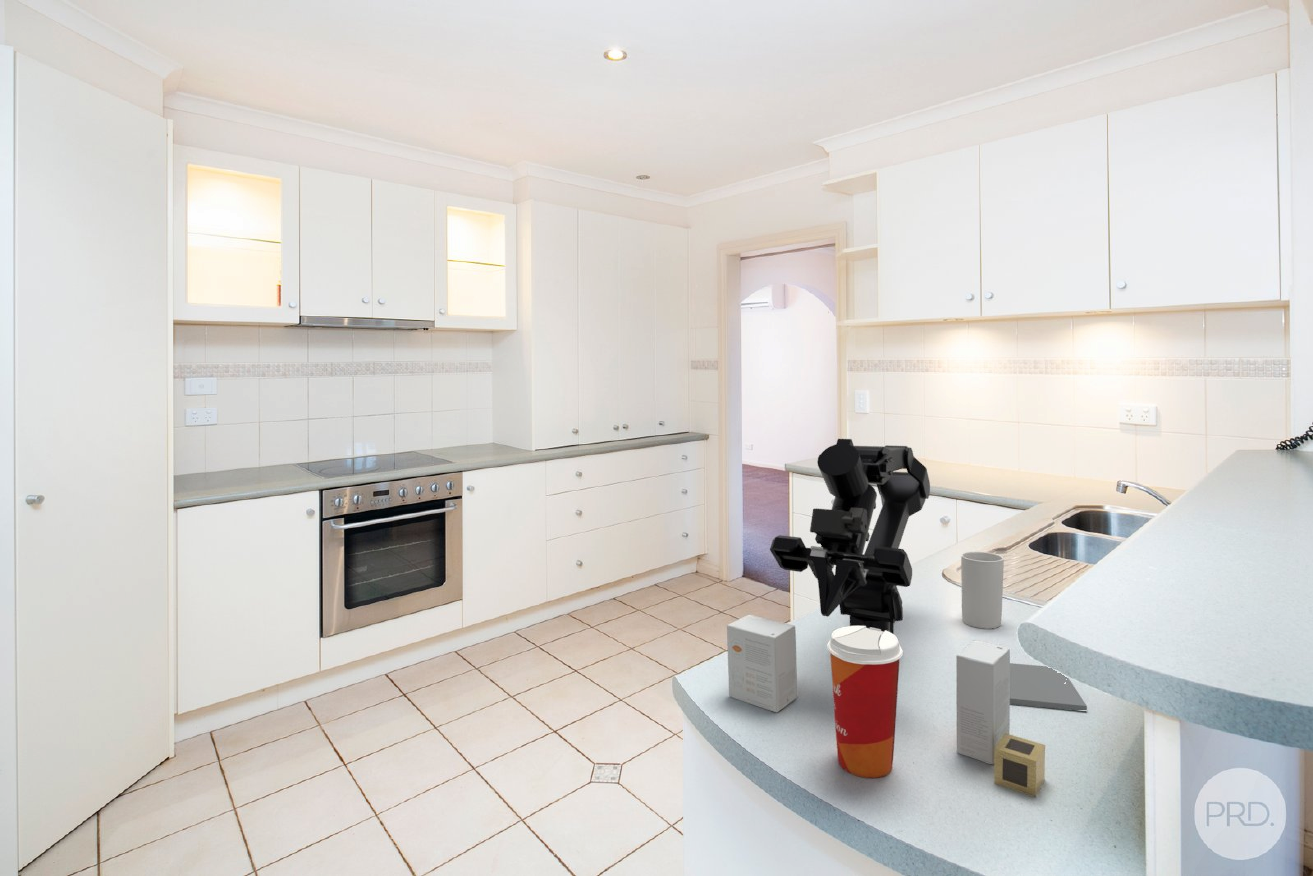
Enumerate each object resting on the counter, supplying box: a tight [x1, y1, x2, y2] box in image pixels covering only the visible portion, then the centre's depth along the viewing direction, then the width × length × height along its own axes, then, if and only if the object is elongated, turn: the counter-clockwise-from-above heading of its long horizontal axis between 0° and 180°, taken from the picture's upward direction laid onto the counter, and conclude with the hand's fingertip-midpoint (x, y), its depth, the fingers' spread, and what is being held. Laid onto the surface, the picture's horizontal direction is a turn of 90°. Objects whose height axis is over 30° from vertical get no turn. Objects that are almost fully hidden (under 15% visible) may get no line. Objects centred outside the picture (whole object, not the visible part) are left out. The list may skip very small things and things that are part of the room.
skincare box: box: [955, 639, 1011, 765], centre depth 79 cm, size 6×4×12 cm
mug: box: [960, 551, 1005, 630], centre depth 120 cm, size 10×7×12 cm, turn 162°
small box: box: [726, 614, 798, 713], centre depth 94 cm, size 8×6×10 cm
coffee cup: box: [826, 625, 904, 779], centre depth 77 cm, size 8×8×15 cm
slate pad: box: [1010, 662, 1088, 711], centre depth 95 cm, size 12×12×1 cm
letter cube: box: [993, 733, 1046, 798], centre depth 73 cm, size 4×4×4 cm
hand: (824, 614), depth 90 cm, fingers closed
